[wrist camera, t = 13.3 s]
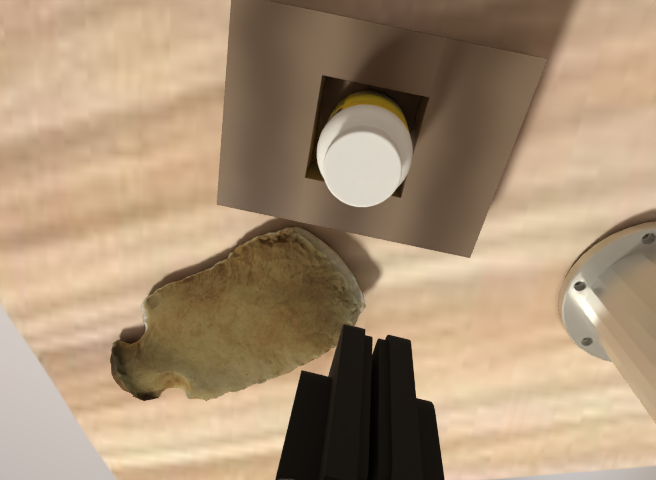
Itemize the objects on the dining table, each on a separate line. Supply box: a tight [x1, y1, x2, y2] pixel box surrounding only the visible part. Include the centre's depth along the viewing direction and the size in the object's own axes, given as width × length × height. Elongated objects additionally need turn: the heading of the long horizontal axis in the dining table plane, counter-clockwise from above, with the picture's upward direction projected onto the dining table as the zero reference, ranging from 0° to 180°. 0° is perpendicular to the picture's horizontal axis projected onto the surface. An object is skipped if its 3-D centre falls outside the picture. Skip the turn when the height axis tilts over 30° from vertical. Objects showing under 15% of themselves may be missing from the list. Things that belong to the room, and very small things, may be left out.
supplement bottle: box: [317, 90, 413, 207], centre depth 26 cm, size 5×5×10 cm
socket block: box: [217, 0, 547, 258], centre depth 28 cm, size 18×13×4 cm
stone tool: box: [110, 227, 365, 401], centre depth 37 cm, size 12×4×25 cm
